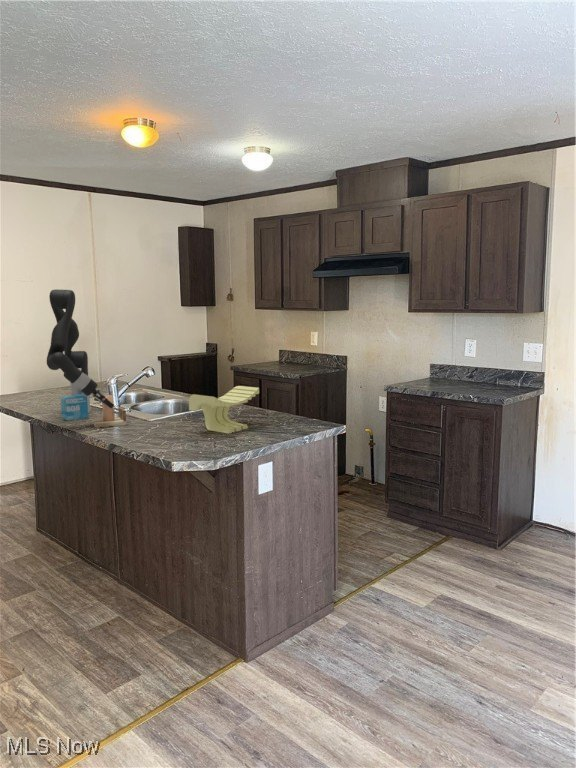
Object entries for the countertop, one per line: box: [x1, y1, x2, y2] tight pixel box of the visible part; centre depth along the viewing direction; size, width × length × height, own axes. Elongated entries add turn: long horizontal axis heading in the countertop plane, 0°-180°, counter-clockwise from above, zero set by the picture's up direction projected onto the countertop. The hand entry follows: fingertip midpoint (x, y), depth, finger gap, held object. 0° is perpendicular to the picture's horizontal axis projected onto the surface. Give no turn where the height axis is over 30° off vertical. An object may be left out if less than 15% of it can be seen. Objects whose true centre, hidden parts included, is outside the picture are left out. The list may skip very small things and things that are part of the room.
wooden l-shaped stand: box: [92, 406, 127, 429], centre depth 285 cm, size 12×14×7 cm
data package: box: [60, 394, 89, 422], centre depth 299 cm, size 12×4×12 cm, turn 133°
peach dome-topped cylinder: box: [101, 394, 115, 421], centre depth 285 cm, size 5×5×12 cm
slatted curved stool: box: [188, 385, 260, 434], centre depth 271 cm, size 30×16×18 cm, turn 143°
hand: (111, 405), depth 285 cm, fingers open, 8 cm apart
